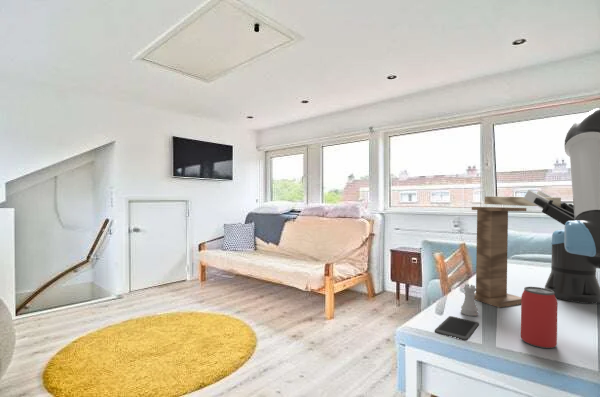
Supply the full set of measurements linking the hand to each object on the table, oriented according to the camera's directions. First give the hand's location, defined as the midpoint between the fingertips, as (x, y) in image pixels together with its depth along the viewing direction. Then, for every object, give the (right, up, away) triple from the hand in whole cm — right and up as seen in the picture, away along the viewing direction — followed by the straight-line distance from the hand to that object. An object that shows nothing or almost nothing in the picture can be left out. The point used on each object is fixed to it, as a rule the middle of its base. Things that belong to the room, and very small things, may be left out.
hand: (532, 194), depth 95 cm
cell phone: (-29, -34, -14) cm, 47 cm away
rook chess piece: (-20, -34, -3) cm, 40 cm away
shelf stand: (-5, -34, +9) cm, 36 cm away
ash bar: (-1, -3, +3) cm, 5 cm away
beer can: (-14, -34, -22) cm, 43 cm away
